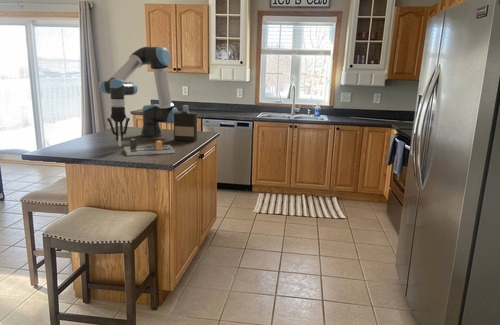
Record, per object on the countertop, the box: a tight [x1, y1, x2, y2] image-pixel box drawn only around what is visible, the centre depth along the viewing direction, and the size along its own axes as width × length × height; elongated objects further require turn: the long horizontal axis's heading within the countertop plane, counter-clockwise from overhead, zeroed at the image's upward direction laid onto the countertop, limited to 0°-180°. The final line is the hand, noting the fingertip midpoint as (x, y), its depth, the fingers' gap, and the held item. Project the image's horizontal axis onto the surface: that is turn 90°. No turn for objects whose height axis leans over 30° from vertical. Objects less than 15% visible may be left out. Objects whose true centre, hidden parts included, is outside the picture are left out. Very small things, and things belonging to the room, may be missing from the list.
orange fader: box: [155, 140, 163, 150], centre depth 216 cm, size 4×3×5 cm
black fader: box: [129, 138, 137, 148], centre depth 218 cm, size 4×3×5 cm
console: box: [123, 144, 176, 157], centre depth 219 cm, size 15×28×2 cm, turn 114°
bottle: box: [173, 104, 198, 143], centre depth 254 cm, size 8×16×25 cm, turn 88°
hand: (119, 145), depth 216 cm, fingers closed
